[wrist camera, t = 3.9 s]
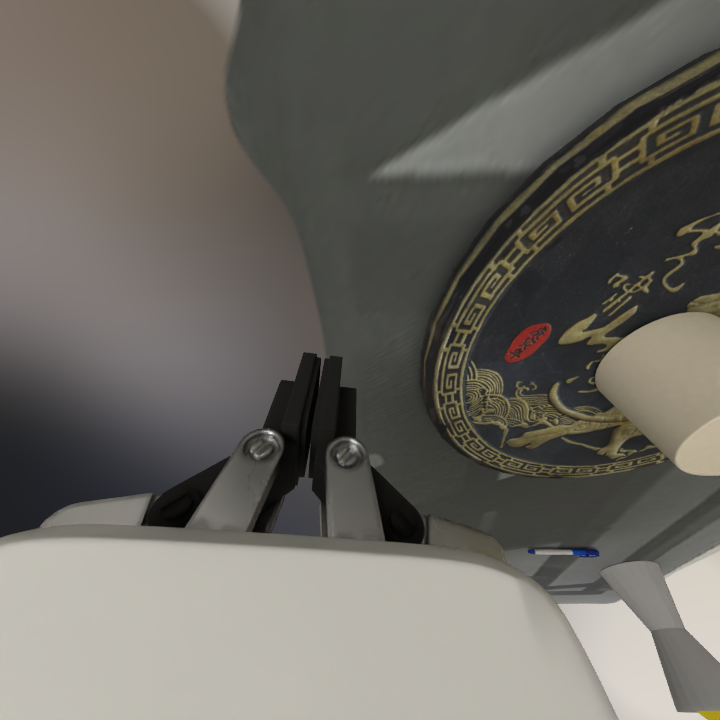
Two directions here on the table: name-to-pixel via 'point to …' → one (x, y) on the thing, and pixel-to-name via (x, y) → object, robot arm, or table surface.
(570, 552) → the ballpoint pen
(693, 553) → the table surface
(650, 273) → the decorative plate
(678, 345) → the candle
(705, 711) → the lava lamp
